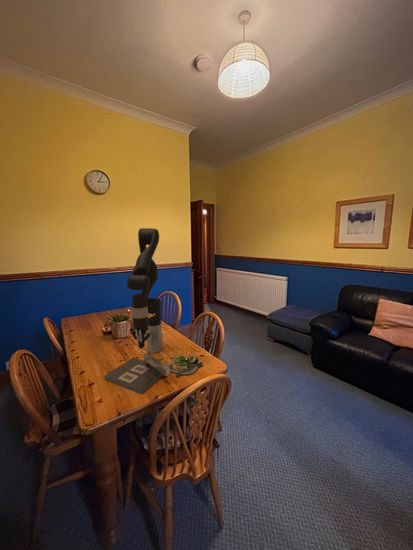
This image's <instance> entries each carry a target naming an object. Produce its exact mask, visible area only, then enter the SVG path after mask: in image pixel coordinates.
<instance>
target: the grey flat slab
mask: <svg viewBox="0 0 413 550" xmlns="http://www.w3.org/2000/svg"><path fill="white" fill-rule="evenodd" d="M164 376H165V375H164V374H163V373H161V372H160V371H159V370H157V369H156V368H155V367H153V366H152V365H151V364H149V363H148V362H145V361H144V359H140V358H137V357H132V358H130V359H128V360H127V361H125V362H124V363H122V364H121V365H119V366H118V367H116V368H114V369H112V370H111V371H109V372H108V373H106V374H105V375H104V380H105V381H108V382H109V383H113V384H116V385H118V386H120V387H123V388H125V389H128V390H131V391H133V392H136V393H138V394H140V393H141V395H143V394H142V393H146V392H147V391H148V389H150V388H149V387H152V386H153V385H155V383H156V382H158V381H159V380H160V379H161V378H162V377H164Z"/></svg>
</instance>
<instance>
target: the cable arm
mask: <svg viewBox="0 0 413 550" xmlns="http://www.w3.org/2000/svg"><path fill="white" fill-rule="evenodd" d="M143 360H144V361H145V362H148V363H149V364H151V365H152V366H153V367H155V368H156V369H157V370H159V371H160V372H161V373H163V374H164V375H163V376H169V375H170V374H171V371H170V368H169V367H168V366H167V364H166V363H163V362H162V361H160V360H159V359H158V358H156V357H154V356H153V355H152V353H150V352H147V353H144V354H143Z"/></svg>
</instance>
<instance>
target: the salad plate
mask: <svg viewBox="0 0 413 550" xmlns="http://www.w3.org/2000/svg"><path fill="white" fill-rule="evenodd" d="M186 358H187V360H185V359H186ZM174 363H175V364H174ZM173 364H174V365H176V367H177V369H178V370H177V369H174V367H173V366H174V365H173ZM203 364H204V361H201V360H200V359H199V358H198V356H197V355H196V354H191V355H184V354H183V355H182V354H181V355H177V356H175V357H174V358H173V359H172V360H171V361H169V363H167V364H166V366H168V367H169V368H170V373H173V374H175V377H177V376H182V375H190V374H193V373H195V371H197V369H198V368H199V367H200V366H202V365H203Z"/></svg>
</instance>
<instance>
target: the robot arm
mask: <svg viewBox="0 0 413 550" xmlns="http://www.w3.org/2000/svg"><path fill="white" fill-rule="evenodd" d="M137 235H138V236H137V238H138V246H139V248H138V249H139V253H140V254H139V255H138V257H137V258H136V262H135V266H134V267H133V269H132V271H131V272H130V274H129V275H128V278H127V280H126V286H127V288H128V289H129V290H131V291H141V292H140V293H136V294H133V295H132V297H131V306H132V307H131V318H132V328H130V329H129V331H130V334H131V335H132V337H133V338H134V340H137V343H138V348H139V349H143V348H144V347H145V345H146V351H147V353H150V354H155V353H159V352H161V351H162V349H163V346H164V344H163V343H164V342H163V333H162V300H161V298H159V297H157V298H156V297H154V298H153V297H151V298H150V297H149V295H150V293H151V290H152V288H154V286H155V284H156V282H157V280H158V276H159V275H158V266H157V263H156V262H155V261H154V260H153V257H154V254H155V252H156V250H157V247H158V245H159V241H160V233H159V230H158V229H157V228H151V227H150V228H149V227H147V228H145V227H142V228H139V229H138V232H137ZM149 314H155V315H153V316H150V317H149ZM145 341H146V342H145ZM145 343H146V344H145Z"/></svg>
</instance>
